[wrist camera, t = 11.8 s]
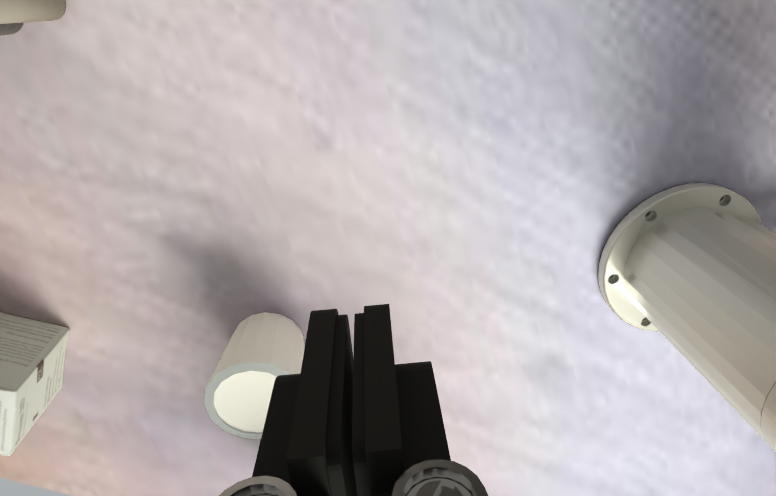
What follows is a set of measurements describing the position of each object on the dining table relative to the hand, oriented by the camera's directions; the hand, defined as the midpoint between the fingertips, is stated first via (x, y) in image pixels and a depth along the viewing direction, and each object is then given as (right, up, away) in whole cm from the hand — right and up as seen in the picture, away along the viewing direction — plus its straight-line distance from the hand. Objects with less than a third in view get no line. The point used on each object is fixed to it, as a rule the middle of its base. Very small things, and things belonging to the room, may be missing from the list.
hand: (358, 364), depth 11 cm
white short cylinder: (-9, -5, +30) cm, 32 cm away
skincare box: (-27, -5, +28) cm, 40 cm away
